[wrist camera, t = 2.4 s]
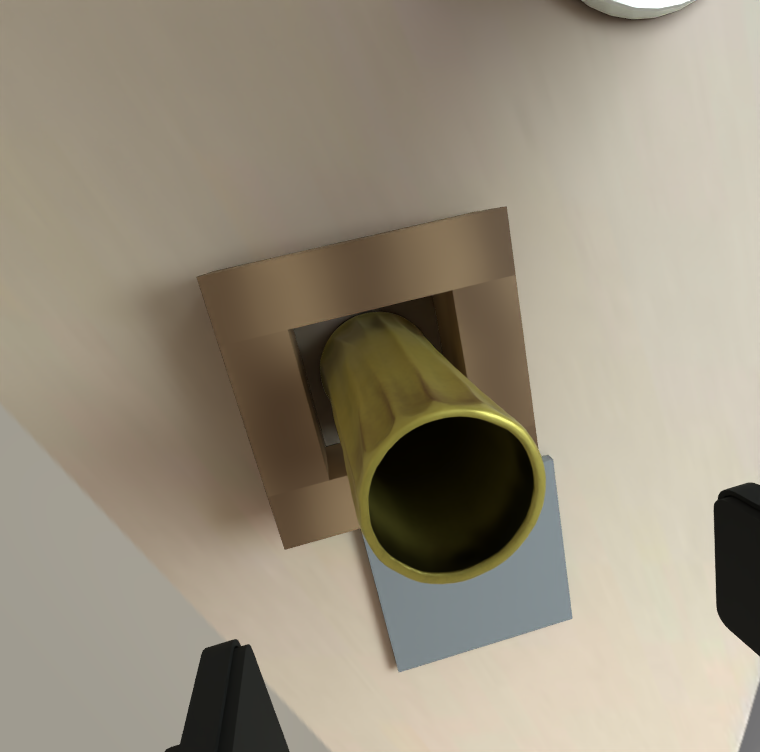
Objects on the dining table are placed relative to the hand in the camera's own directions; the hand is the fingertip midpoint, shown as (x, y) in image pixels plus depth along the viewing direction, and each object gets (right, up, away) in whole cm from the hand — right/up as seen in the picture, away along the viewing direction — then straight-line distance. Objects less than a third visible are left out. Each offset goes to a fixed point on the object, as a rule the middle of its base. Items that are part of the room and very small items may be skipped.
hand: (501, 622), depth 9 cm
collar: (-3, +5, +17) cm, 18 cm away
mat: (+3, -7, +21) cm, 23 cm away
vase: (-3, +5, +17) cm, 18 cm away
